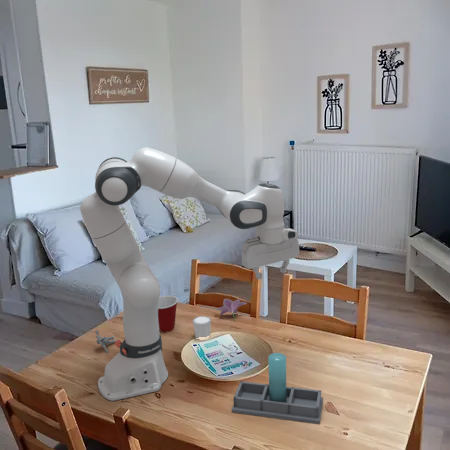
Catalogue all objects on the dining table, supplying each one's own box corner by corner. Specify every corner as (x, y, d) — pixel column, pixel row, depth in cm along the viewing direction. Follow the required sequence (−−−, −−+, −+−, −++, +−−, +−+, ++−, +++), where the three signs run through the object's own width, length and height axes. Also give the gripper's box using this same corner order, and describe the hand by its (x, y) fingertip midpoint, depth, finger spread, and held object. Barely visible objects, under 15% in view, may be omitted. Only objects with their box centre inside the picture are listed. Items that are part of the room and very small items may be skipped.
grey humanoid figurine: (125, 346, 183) (107, 349, 175) (115, 355, 185) (97, 358, 177) (113, 324, 187) (95, 325, 179) (103, 333, 189) (85, 335, 181)
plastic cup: (150, 325, 198) (147, 297, 195) (176, 320, 201) (174, 293, 198) (155, 337, 188) (152, 308, 185) (182, 332, 191) (180, 303, 188)
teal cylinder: (275, 410, 141) (275, 364, 137) (266, 401, 145) (264, 356, 141) (290, 404, 143) (289, 358, 139) (280, 395, 147) (279, 351, 143)
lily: (251, 317, 204) (245, 294, 206) (245, 318, 192) (239, 294, 194) (224, 324, 206) (218, 302, 208) (217, 326, 195) (210, 303, 197)
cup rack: (231, 412, 143) (231, 400, 141) (240, 390, 153) (240, 378, 152) (319, 424, 136) (319, 411, 135) (322, 400, 146) (323, 388, 145)
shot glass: (209, 341, 183) (208, 324, 181) (191, 340, 184) (190, 323, 183) (213, 332, 190) (212, 316, 188) (196, 332, 191) (195, 315, 189)
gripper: (247, 242, 149) (249, 285, 152) (302, 231, 158) (302, 271, 162) (237, 238, 154) (238, 279, 158) (290, 226, 164) (290, 266, 167)
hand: (271, 275), depth 160 cm, fingers open, 8 cm apart
